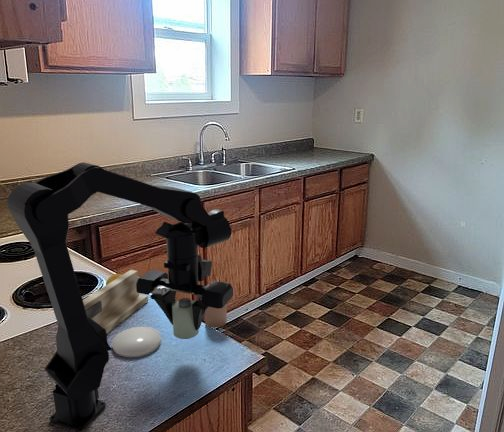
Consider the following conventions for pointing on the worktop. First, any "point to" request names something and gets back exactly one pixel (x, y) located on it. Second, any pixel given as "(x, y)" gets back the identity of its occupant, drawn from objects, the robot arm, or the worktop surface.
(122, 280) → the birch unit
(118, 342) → the ceramic plate
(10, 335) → the worktop surface
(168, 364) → the worktop surface
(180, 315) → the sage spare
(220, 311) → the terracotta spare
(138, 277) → the bread roll
